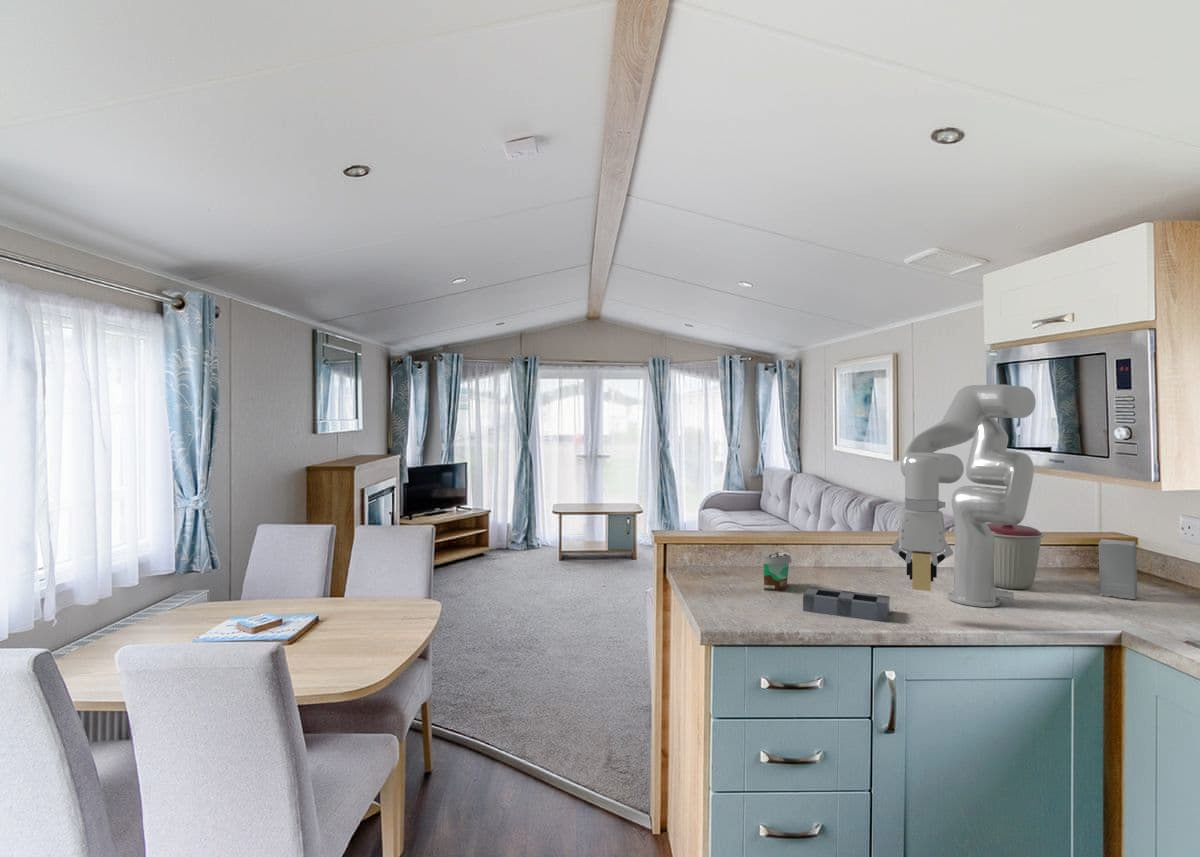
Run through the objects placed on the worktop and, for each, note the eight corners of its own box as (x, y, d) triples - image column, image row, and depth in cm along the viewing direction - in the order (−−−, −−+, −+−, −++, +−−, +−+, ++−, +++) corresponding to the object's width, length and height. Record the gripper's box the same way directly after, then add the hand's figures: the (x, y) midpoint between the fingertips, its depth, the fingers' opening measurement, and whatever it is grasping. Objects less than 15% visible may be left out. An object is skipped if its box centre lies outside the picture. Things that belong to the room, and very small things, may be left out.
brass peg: (930, 586, 165) (930, 550, 164) (930, 591, 161) (930, 554, 161) (912, 585, 166) (912, 549, 166) (912, 589, 163) (912, 552, 162)
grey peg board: (889, 611, 171) (889, 596, 171) (887, 622, 162) (887, 605, 162) (809, 601, 180) (809, 586, 180) (802, 610, 171) (803, 595, 171)
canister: (1057, 593, 190) (1058, 520, 190) (993, 592, 191) (995, 520, 190) (1018, 578, 208) (1020, 511, 208) (960, 577, 209) (962, 511, 208)
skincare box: (1137, 596, 188) (1138, 541, 188) (1135, 601, 183) (1136, 544, 182) (1100, 591, 194) (1101, 537, 193) (1097, 595, 188) (1098, 540, 188)
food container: (783, 594, 186) (784, 559, 186) (762, 591, 190) (763, 556, 190) (795, 585, 197) (796, 551, 197) (775, 582, 200) (776, 549, 200)
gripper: (959, 505, 162) (959, 579, 163) (885, 501, 170) (885, 572, 171) (960, 510, 156) (960, 586, 156) (883, 506, 163) (883, 579, 164)
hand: (921, 578), depth 164 cm, fingers closed on brass peg, 4 cm apart
